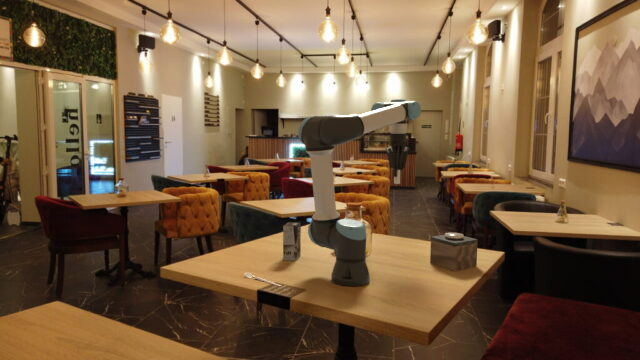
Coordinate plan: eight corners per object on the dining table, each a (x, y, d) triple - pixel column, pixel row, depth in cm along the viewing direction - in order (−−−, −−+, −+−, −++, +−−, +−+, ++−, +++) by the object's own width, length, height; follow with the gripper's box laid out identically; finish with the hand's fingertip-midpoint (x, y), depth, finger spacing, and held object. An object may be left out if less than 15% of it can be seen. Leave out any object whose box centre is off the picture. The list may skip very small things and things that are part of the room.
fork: (278, 289, 171) (278, 284, 170) (242, 277, 183) (242, 272, 183) (284, 287, 173) (284, 282, 173) (248, 275, 186) (249, 271, 186)
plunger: (453, 266, 196) (454, 237, 195) (440, 261, 203) (440, 233, 202) (466, 263, 201) (467, 235, 199) (452, 259, 207) (453, 231, 206)
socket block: (454, 271, 192) (455, 243, 191) (430, 262, 204) (431, 236, 203) (476, 266, 200) (477, 239, 198) (452, 258, 212) (453, 233, 210)
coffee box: (296, 261, 206) (296, 226, 204) (282, 260, 207) (282, 225, 205) (301, 255, 215) (301, 222, 213) (288, 255, 216) (288, 221, 214)
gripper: (403, 133, 218) (402, 182, 220) (382, 133, 211) (380, 183, 213) (414, 133, 211) (412, 183, 214) (392, 133, 205) (391, 185, 207)
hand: (396, 183), depth 214 cm, fingers closed
